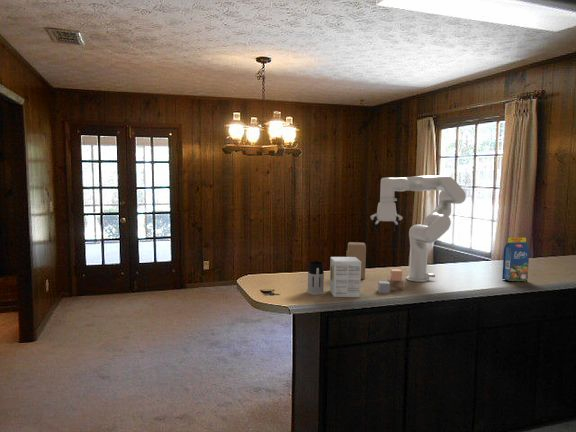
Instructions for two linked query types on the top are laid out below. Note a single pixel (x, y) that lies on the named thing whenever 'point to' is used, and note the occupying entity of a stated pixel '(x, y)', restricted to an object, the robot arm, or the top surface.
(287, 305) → the top surface
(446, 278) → the top surface
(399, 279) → the terracotta cube
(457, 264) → the top surface
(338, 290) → the supplement box
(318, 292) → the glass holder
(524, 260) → the blue food package
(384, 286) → the slate grey cube
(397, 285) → the walnut base block
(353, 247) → the block
